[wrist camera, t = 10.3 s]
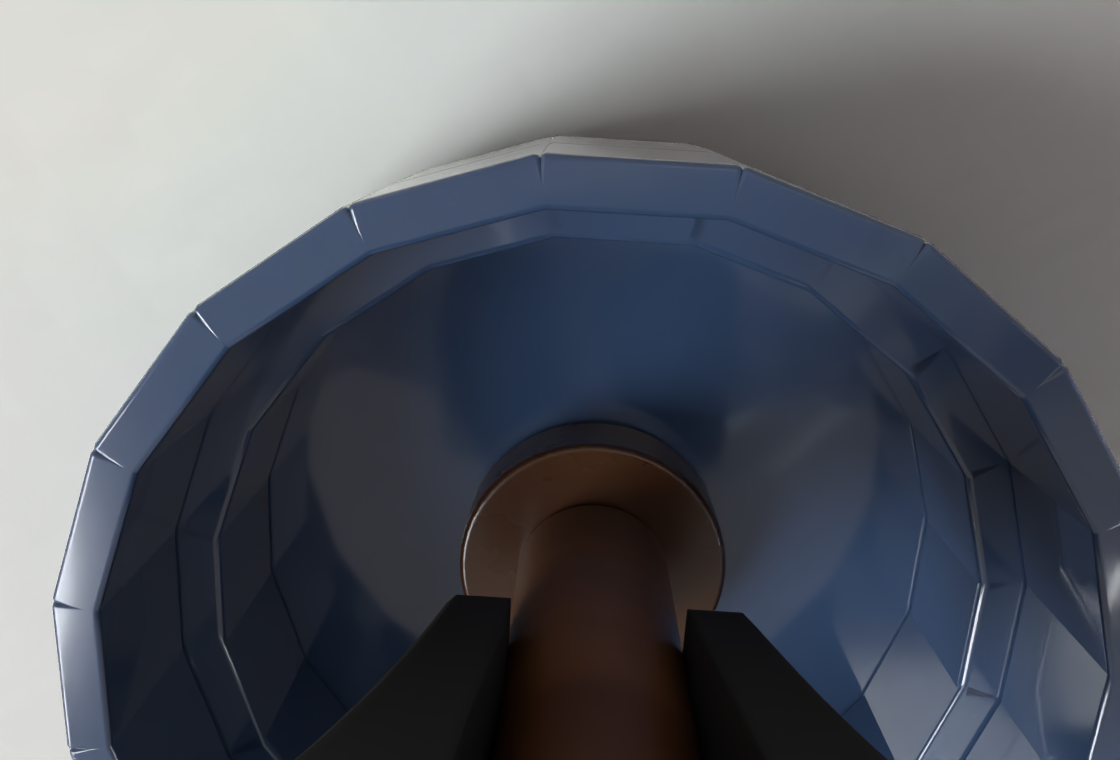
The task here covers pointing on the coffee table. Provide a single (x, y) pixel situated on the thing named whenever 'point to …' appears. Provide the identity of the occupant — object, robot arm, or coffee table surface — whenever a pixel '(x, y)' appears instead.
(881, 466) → the bowl
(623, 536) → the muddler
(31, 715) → the coffee table surface
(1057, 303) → the coffee table surface
